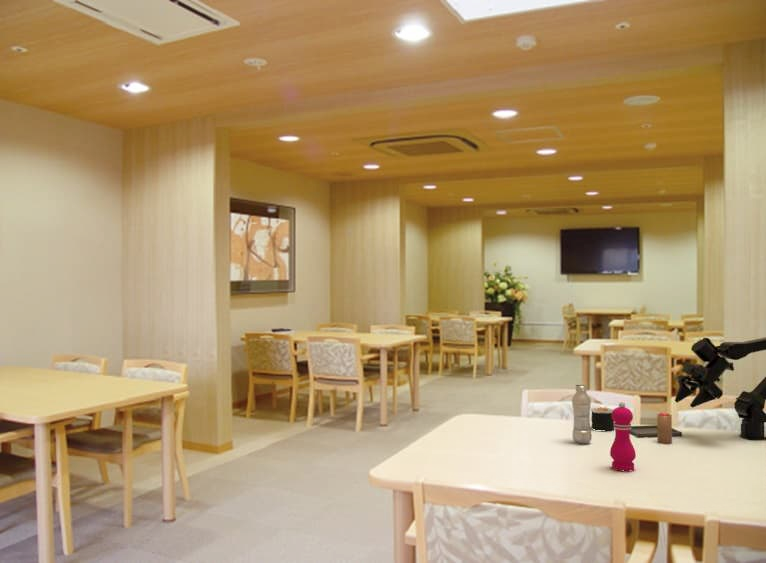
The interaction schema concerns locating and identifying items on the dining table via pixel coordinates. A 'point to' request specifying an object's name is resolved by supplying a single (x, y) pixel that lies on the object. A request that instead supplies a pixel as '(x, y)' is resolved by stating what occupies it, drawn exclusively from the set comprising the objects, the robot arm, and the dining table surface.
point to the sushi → (602, 419)
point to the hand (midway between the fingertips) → (683, 404)
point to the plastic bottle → (581, 415)
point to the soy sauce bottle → (664, 428)
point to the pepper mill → (622, 439)
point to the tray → (649, 431)
